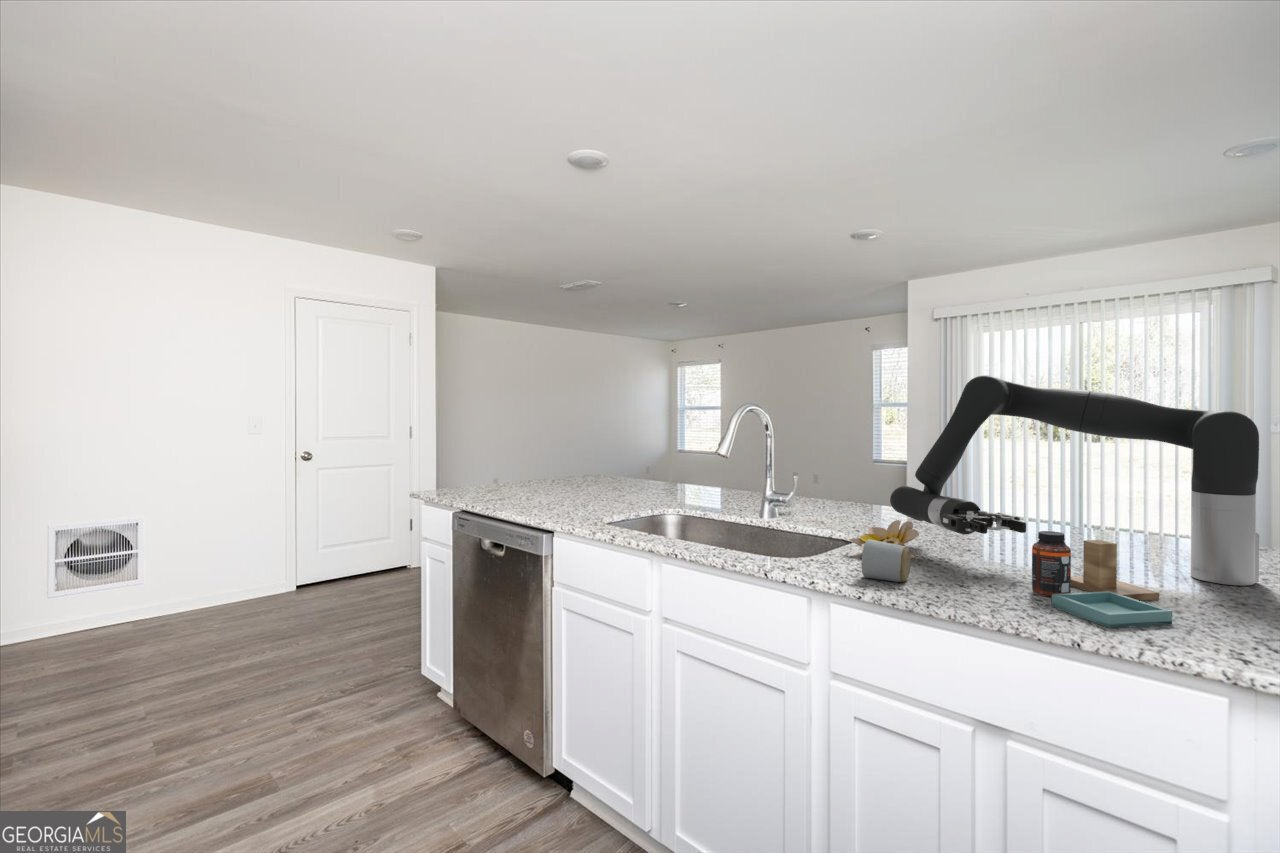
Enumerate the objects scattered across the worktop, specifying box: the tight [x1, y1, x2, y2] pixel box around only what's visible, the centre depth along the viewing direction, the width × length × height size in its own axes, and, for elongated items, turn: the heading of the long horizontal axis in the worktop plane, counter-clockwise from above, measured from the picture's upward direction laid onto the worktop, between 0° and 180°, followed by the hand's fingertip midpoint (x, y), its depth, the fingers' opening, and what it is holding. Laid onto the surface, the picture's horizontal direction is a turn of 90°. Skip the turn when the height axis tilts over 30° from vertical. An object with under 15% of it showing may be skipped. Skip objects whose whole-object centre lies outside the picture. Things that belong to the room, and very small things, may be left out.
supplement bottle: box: [1031, 530, 1072, 598], centre depth 113 cm, size 6×6×11 cm
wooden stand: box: [1071, 539, 1160, 601], centre depth 115 cm, size 8×12×9 cm, turn 8°
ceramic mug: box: [861, 539, 911, 583], centre depth 126 cm, size 11×8×8 cm
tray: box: [1051, 591, 1173, 629], centre depth 102 cm, size 11×11×2 cm
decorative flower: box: [848, 519, 920, 559], centre depth 144 cm, size 15×11×10 cm
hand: (1005, 528), depth 125 cm, fingers open, 8 cm apart
